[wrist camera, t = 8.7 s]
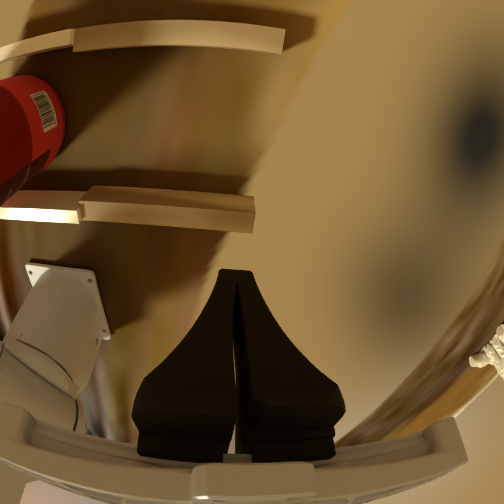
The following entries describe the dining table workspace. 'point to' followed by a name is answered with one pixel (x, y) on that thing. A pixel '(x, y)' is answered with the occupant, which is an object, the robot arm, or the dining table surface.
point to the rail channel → (166, 200)
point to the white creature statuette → (491, 353)
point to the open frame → (41, 201)
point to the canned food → (27, 130)
